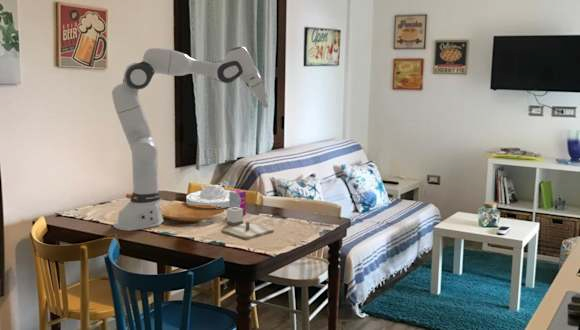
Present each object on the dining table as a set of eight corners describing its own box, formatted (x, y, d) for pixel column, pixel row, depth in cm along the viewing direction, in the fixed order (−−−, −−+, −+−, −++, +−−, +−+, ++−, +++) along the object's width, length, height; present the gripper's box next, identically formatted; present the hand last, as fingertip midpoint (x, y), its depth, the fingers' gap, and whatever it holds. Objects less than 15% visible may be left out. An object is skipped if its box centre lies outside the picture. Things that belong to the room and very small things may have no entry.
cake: (220, 212, 306) (219, 192, 304) (175, 205, 319) (174, 186, 318) (251, 199, 330) (251, 182, 328) (208, 193, 343) (207, 176, 342)
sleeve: (234, 226, 281) (234, 210, 280) (227, 223, 284) (227, 208, 283) (242, 223, 285) (242, 208, 283) (235, 221, 288) (235, 206, 287)
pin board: (246, 239, 262) (246, 229, 261) (221, 231, 273) (221, 221, 272) (273, 231, 273) (273, 221, 272) (249, 224, 284) (249, 214, 283)
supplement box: (238, 217, 296) (237, 193, 294) (228, 215, 299) (228, 191, 297) (246, 214, 300) (246, 191, 298) (237, 212, 304) (236, 189, 302)
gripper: (242, 80, 298) (255, 106, 302) (248, 84, 278) (262, 112, 282) (253, 74, 299) (266, 100, 303) (261, 78, 279) (274, 105, 283)
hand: (264, 106), depth 292 cm, fingers open, 8 cm apart
